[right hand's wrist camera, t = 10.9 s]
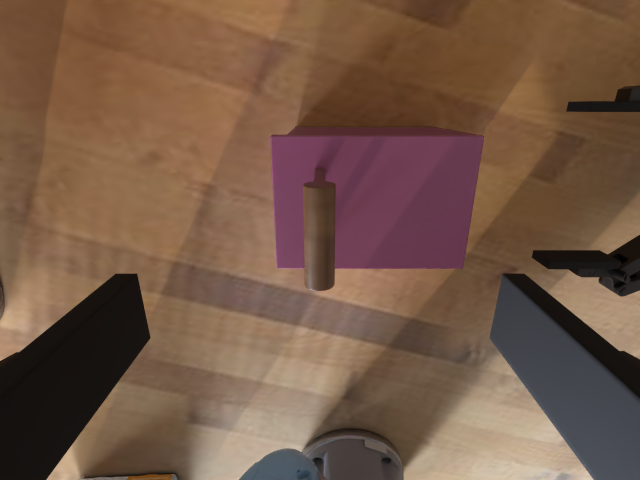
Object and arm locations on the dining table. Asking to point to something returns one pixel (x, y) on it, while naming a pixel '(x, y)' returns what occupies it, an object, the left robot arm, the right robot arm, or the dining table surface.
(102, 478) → the hard drive box
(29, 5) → the dining table surface
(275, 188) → the lid
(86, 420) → the right robot arm
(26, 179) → the dining table surface
